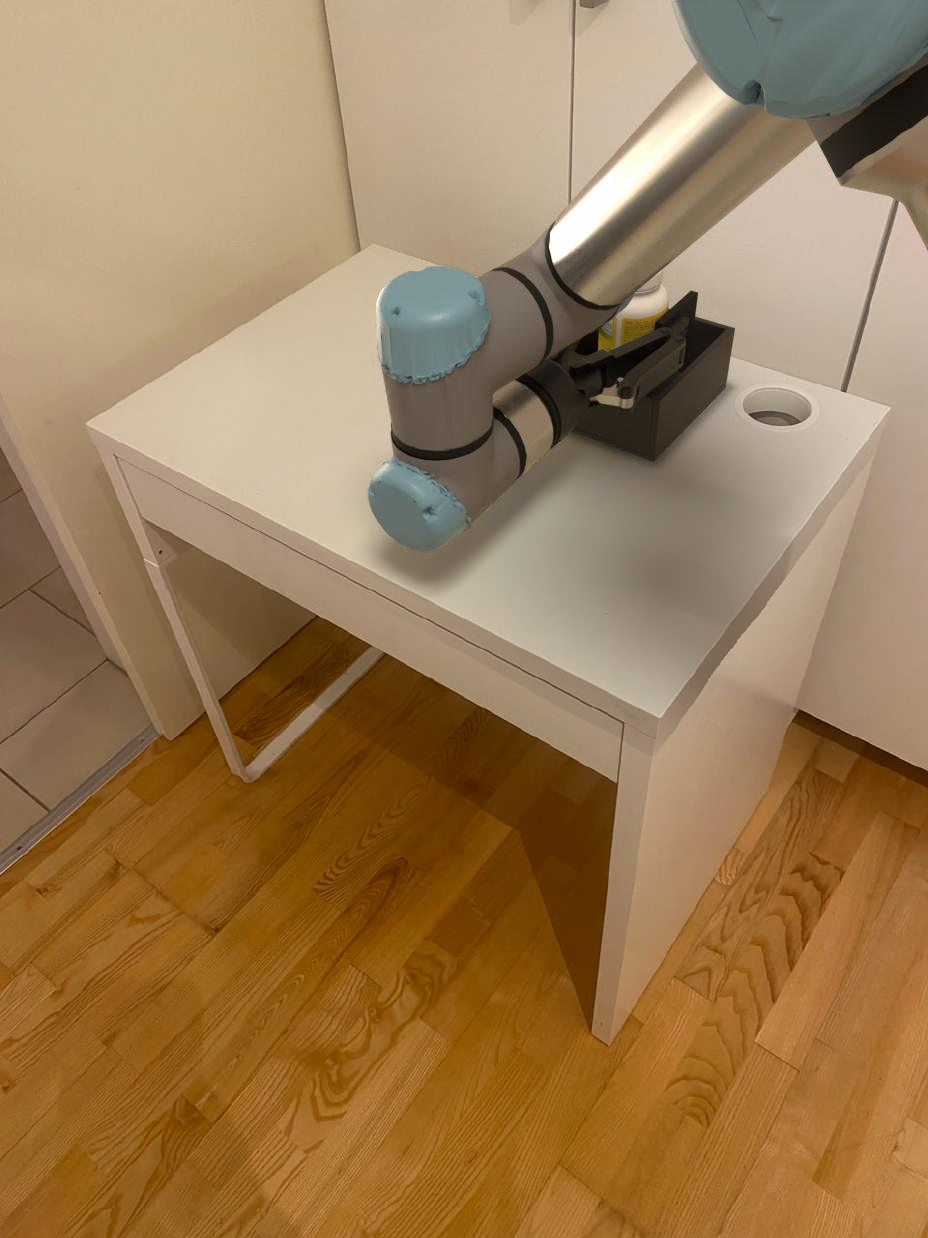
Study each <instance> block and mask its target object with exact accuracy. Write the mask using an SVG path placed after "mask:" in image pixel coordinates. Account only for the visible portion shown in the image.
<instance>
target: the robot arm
mask: <svg viewBox="0 0 928 1238" xmlns="http://www.w3.org/2000/svg"><path fill="white" fill-rule="evenodd" d="M670 2H671V6H672V9H673V12H674V16H675V19H676V22H677V24H678V27H679V30H680V33H681V35H682V38H683V40H684V41H685V44H686V45H687V47H688V49H689V50H690V52H691V54H692V55H693V57H694V59H695V61H696V63H695V64H694V65H693V66H692V68H691V69H690V70H688V72H687V73H686V74H685V75H684V77H683V78H682V79H681V80H680V81H678V83H677V84H676V85H675V86H674V87H673V88H672V89H671V90H670V92H669V93H668V94H667V95H666V96H665V97H664V98H663V99H662V101H660V103H659V104H658V105H657V106H656V107H655V108H654V109H653V110H652V112H651V113H650V114H649V115H648V116H647V117H646V118H645V119H644V120H643V122H642V123H641V124H640V125H639V126H638V127H637V128H636V129H635V130H634V132H633V133H631V135H630V136H628V138H627V139H626V140H625V141H624V143H622V145H621V146H620V147H619V148H618V149H617V150H616V151H615V152H614V154H613V155H612V156H611V157H610V158H609V159H608V160H607V161H606V162H605V164H604V165H602V166H601V168H600V169H599V170H598V172H596V173H595V174H594V176H593V177H592V178H591V179H590V180H589V181H588V183H586V185H584V187H583V188H582V189H581V190H580V191H579V192H578V193H577V194H576V195H575V197H574V198H573V199H572V200H571V201H570V202H569V204H567V205H566V207H565V208H564V209H563V210H562V211H561V212H560V213H559V214H558V215H557V217H556V219H555V220H554V221H553V222H552V223H551V224H550V225H549V226H548V227H547V228H546V229H545V230H544V232H542V233H541V235H539V237H538V238H537V239H536V240H535V241H534V242H533V243H532V244H531V245H530V246H529V247H527V248H526V249H525V250H524V251H523V252H521V253H520V254H518V255H516V256H514V257H513V258H511V259H508V260H507V261H505V262H504V263H502V264H500V265H499V266H497V267H494V268H492V269H490V270H489V271H486V272H484V273H483V274H481V275H479V276H475V274H472V273H471V272H469V271H467V270H464V269H461V268H459V267H453V266H445V265H437V266H436V265H434V266H426V267H425V268H423V269H422V270H408V271H405V272H403V273H401V274H399V275H397V276H396V277H394V278H392V279H391V280H390V281H388V282H387V283H386V285H384V287H382V289H381V290H380V292H379V294H378V296H377V299H376V304H375V317H376V318H375V321H376V323H375V330H376V341H377V345H376V351H377V359H378V361H379V367H381V372H382V377H383V378H382V379H383V385H384V389H385V394H386V400H387V406H388V412H389V417H390V441H391V447H392V457H391V459H390V460H386V461H384V462H382V465H381V466H380V468H378V470H377V471H376V472H375V473H374V474H373V475H372V477H371V479H370V481H369V485H368V488H367V501H368V504H369V508H370V510H371V512H372V515H373V517H374V518H375V520H376V521H377V523H378V524H379V525H380V527H381V528H382V530H384V532H385V533H386V534H387V535H388V536H389V537H391V539H392V540H394V541H395V542H397V543H398V544H400V545H401V546H405V547H407V548H408V549H410V550H412V551H413V552H419V553H432V552H436V551H438V550H440V549H442V548H443V547H444V546H446V545H447V544H448V543H450V542H451V541H452V540H453V539H454V538H456V537H457V536H458V535H459V534H461V533H462V532H465V531H467V530H468V529H469V528H471V526H472V524H473V523H474V522H475V521H476V520H477V519H478V518H479V517H480V516H481V515H482V514H484V512H485V511H487V509H489V508H490V507H491V506H492V505H493V504H494V503H495V502H496V501H497V500H498V499H499V498H500V497H501V496H502V495H503V494H504V493H506V492H507V491H508V489H510V488H511V487H512V486H513V485H514V484H515V483H516V482H517V481H518V480H519V479H521V478H522V477H523V476H524V475H525V474H526V473H527V472H528V471H529V470H530V469H531V468H532V467H534V465H536V464H537V463H538V462H539V461H540V460H541V459H542V458H544V457H545V455H546V454H547V453H548V452H549V451H550V450H552V449H554V448H555V447H556V446H557V445H558V444H559V443H560V442H561V441H562V440H563V439H564V438H566V437H567V436H568V435H569V434H570V433H571V432H573V431H572V430H573V429H574V428H575V426H576V425H577V424H578V422H579V421H580V419H581V418H582V416H583V415H584V413H586V412H587V411H590V410H593V409H596V408H598V407H599V406H600V405H601V404H607V405H613V406H618V413H619V414H620V415H622V416H629V415H631V414H632V413H633V410H634V408H635V406H636V404H637V402H638V401H639V400H641V399H642V398H643V397H644V396H646V395H647V394H648V393H649V392H651V391H652V390H653V389H654V388H656V387H657V386H658V385H659V384H661V383H662V382H663V381H664V380H666V379H667V378H668V377H669V376H671V375H672V374H673V373H674V372H676V371H677V370H678V369H679V368H681V367H682V366H683V363H684V355H685V347H686V338H685V336H686V335H687V331H688V325H689V324H690V323H692V322H693V321H694V320H695V317H696V315H697V314H696V313H697V307H698V298H699V292H698V291H694V290H689V291H688V292H687V293H686V294H685V295H684V296H683V297H681V298H680V299H679V300H678V301H677V302H676V303H675V304H674V305H673V306H672V307H671V308H668V309H669V310H668V311H667V312H666V313H665V314H664V315H663V316H661V317H660V318H659V319H658V320H657V321H656V322H655V330H654V331H652V332H650V333H648V334H646V335H643V336H641V337H639V338H637V339H635V340H632V341H630V342H628V343H626V344H624V345H621V346H619V347H617V348H615V349H613V350H610V351H608V352H607V351H606V350H604V349H602V350H599V351H597V352H595V353H593V354H590V355H588V356H585V355H579V354H578V353H576V352H575V350H576V348H577V346H578V344H579V342H580V340H581V338H582V337H583V336H585V335H587V334H588V333H591V332H594V331H596V330H598V329H599V328H601V327H602V326H604V325H605V324H606V323H608V322H609V321H611V320H612V319H613V318H614V317H615V316H616V315H617V314H618V313H619V312H621V311H622V310H623V309H625V308H626V307H627V305H628V304H629V303H630V301H631V300H632V298H633V296H634V293H635V292H636V291H637V290H638V289H640V288H641V287H642V286H643V285H644V284H646V283H647V282H648V281H649V280H650V279H651V278H653V277H654V276H655V275H656V274H657V273H659V272H660V271H661V270H662V269H663V270H664V269H665V268H666V267H667V266H668V265H669V264H671V263H672V262H673V261H675V260H676V259H677V258H678V257H679V256H680V255H682V253H684V252H685V251H686V250H688V249H689V248H690V247H691V246H692V245H694V244H695V243H696V242H697V241H698V240H699V239H700V238H702V237H703V236H704V235H706V234H707V232H709V231H710V230H712V229H713V227H715V226H716V225H717V224H719V222H721V221H722V220H723V219H724V218H726V217H727V216H728V215H729V214H730V213H731V212H733V211H734V210H735V209H736V208H738V207H739V206H740V205H741V204H742V203H743V202H744V201H746V200H747V199H748V198H749V197H750V196H752V195H754V193H756V192H757V191H758V190H759V189H760V188H762V186H764V185H765V184H766V183H767V182H768V181H770V180H771V179H772V178H773V177H774V176H776V175H777V174H778V173H779V172H781V170H783V169H784V168H785V167H787V166H788V165H789V164H790V163H792V162H793V161H794V160H795V159H796V158H797V157H799V155H801V154H802V153H803V152H804V151H806V149H808V148H809V147H810V146H812V144H814V143H815V142H816V143H817V144H818V146H819V148H820V151H821V152H822V154H823V156H824V157H825V160H826V162H827V164H828V166H829V167H830V169H831V171H832V173H833V175H834V176H835V178H836V181H837V182H838V184H839V185H840V187H844V188H849V189H853V190H857V191H862V192H868V193H873V194H877V195H882V196H886V197H890V198H892V199H894V200H895V201H897V202H899V203H901V204H902V205H903V206H904V208H905V209H906V212H907V213H908V216H909V218H910V219H911V221H912V223H913V225H914V227H915V229H916V231H917V233H918V235H919V237H920V238H921V240H922V242H923V244H924V247H925V248H926V250H927V251H928V0H670ZM616 381H617V384H614V382H616ZM613 384H614V385H613ZM612 385H613V386H612Z"/></svg>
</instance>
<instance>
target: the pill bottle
mask: <svg viewBox="0 0 928 1238" xmlns="http://www.w3.org/2000/svg"><path fill="white" fill-rule="evenodd" d="M663 280H664V268H663V269H662V270H661V271H660V272H659V273H657V274H656V275H655V276H654V277H653V278H651V279H650V280H649V281H648V282H647V283H646V284H644V285H643V286H642V287H641V288H640V289H638V290H637V291H636V292H635V293H634V296H633V298H632V300H631V301H630V303H629V304H628V305H627V307H626V308H625V309H623V310H622V311H621V312H619V313H618V314H617V315H616V316H615V317H614V318H613V319H612V320H611V321H609V322H608V323H606V324H605V325H604V326H602V327H601V328H599V344H598V351H599V350H602V349H604V350H606V351H607V352H608V351H610V350H613V349H615V348H617V347H619V346H621V345H624V344H626V343H628V342H630V341H632V340H635V339H637V338H639V337H641V336H643V335H646V334H648V333H650V332H652V331H654V330H655V322H656V321H657V320H658V319H659V318H660V317H661V316H663V315H664V314H665V313H666V312H667V311H668V309H669V303H670V301H669V300H670V299H669V293H668V290H667V289H666V287H665V286H664V285H663V284H662V282H663ZM616 383H617V381H616Z"/></svg>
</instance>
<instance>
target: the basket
mask: <svg viewBox="0 0 928 1238" xmlns="http://www.w3.org/2000/svg"><path fill="white" fill-rule="evenodd" d="M669 309H670V308H668V310H669ZM735 332H736V328H735V327H733V326H729V325H726V324H723V323H719V322H716V321H713V320H709V319H705V318H702V317H699V316H695V320H694V321H693V322H692V323H690V324H689V325H688V331H687V335H686V336H685V338H686V347H685V355H684V363H683V366H682V367H681V368H679V369H678V370H677V371H676V372H674V373H673V374H672V375H671V376H669V377H668V378H667V379H666V380H664V381H663V382H662V383H661V384H659V385H658V386H657V387H656V388H654V389H653V390H652V391H651V392H649V393H648V394H647V395H646V396H644V397H643V398H642V399H641V400H639V401H638V402H637V404H636V406H635V408H634V410H633V413H632V414H631V415H629V416H622V415H620V414H619V413H618V406H613V405H607V404H601V405H600V406H599V407H598V408H596V409H593V410H590V411H587V412H586V413H584V415H583V416H582V418H581V419H580V421H579V422H578V424H577V425H576V426H575V428H574V429H573V430H572V431H571V432H575V433H576V434H578V435H579V434H580V435H581V436H585V437H587V438H589V439H593V440H595V441H598V442H600V443H603V444H606V445H609V446H612V447H614V448H617V449H619V450H622V451H624V452H627V453H630V454H632V455H635V456H638V457H640V458H643V459H646V460H648V461H651V462H655V461H656V460H658V458H659V457H660V456H661V455H662V454H663V453H664V452H665V451H666V450H667V449H668V448H669V446H671V445H672V444H673V442H675V441H676V440H677V438H678V437H679V436H681V434H683V432H684V431H685V430H686V429H687V428H688V427H689V426H690V425H691V424H692V423H693V422H694V421H695V420H696V419H697V418H698V417H699V416H700V415H701V414H702V413H703V412H704V410H705V409H706V408H708V406H709V405H710V404H712V403H713V401H714V400H715V399H716V398H717V397H718V396H719V395H720V394H721V393H722V392H723V391H724V390H725V389H726V388H727V382H728V377H729V370H730V364H731V363H730V362H731V359H732V358H731V357H732V351H733V345H734V337H735ZM598 344H599V329H598V330H596V331H594V332H591V333H588V334H587V335H585V336H583V337H582V338H581V340H580V342H579V344H578V346H577V348H576V350H575V352H576V353H578V354H579V355H585V356H588V355H590V354H593V353H595V352H597V351H598ZM614 384H617V383H616V382H614ZM614 384H613V385H614ZM613 385H612V386H613Z"/></svg>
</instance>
